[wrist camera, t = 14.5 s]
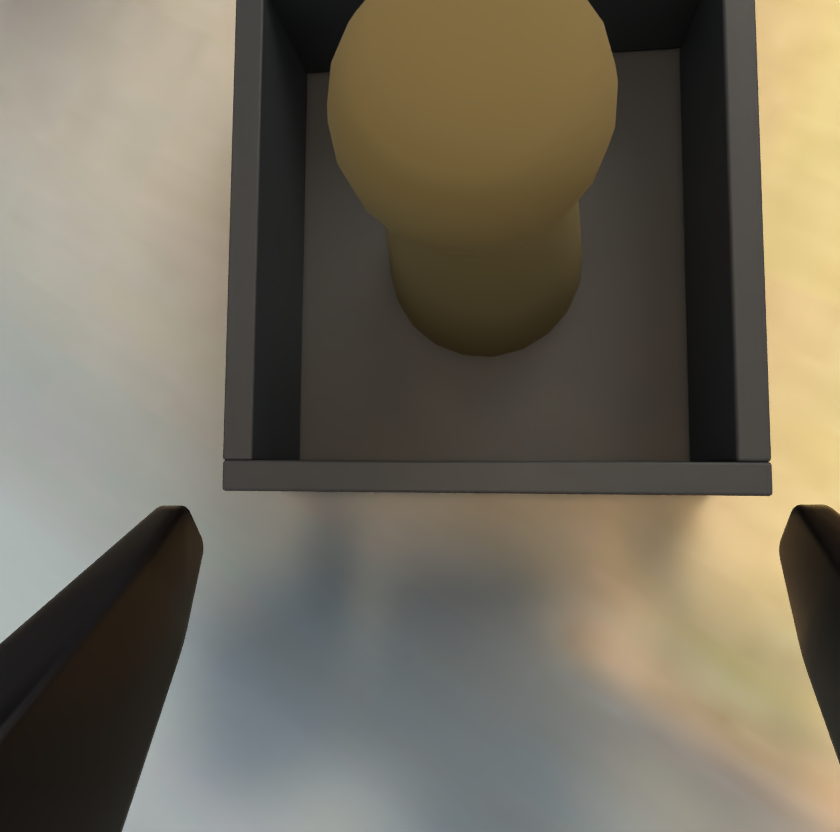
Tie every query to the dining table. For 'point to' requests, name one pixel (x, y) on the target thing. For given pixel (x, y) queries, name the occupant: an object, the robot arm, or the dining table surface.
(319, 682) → the dining table surface
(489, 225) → the tan pawn figure
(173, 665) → the robot arm
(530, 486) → the bin
